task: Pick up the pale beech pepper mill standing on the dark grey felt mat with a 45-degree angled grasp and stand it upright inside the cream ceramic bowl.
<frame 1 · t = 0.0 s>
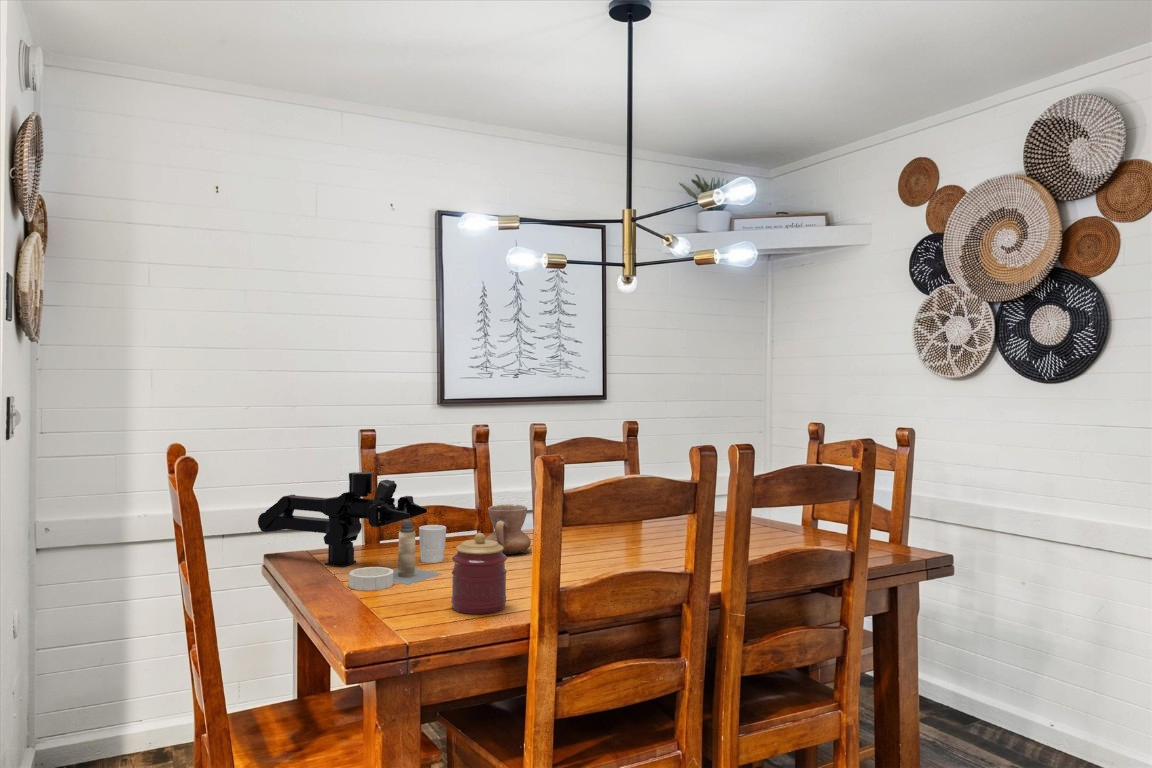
hand: (418, 513, 222), 17 cm above the table, tool horizontal, fingers open, 9 cm apart
bowl: (371, 585, 207), on the table
canister: (478, 608, 190), on the table
white cup: (432, 561, 236), on the table
felt mat: (406, 576, 218), on the table
ceramic jug: (506, 553, 250), on the table
pepper mill: (406, 575, 218), resting on felt mat
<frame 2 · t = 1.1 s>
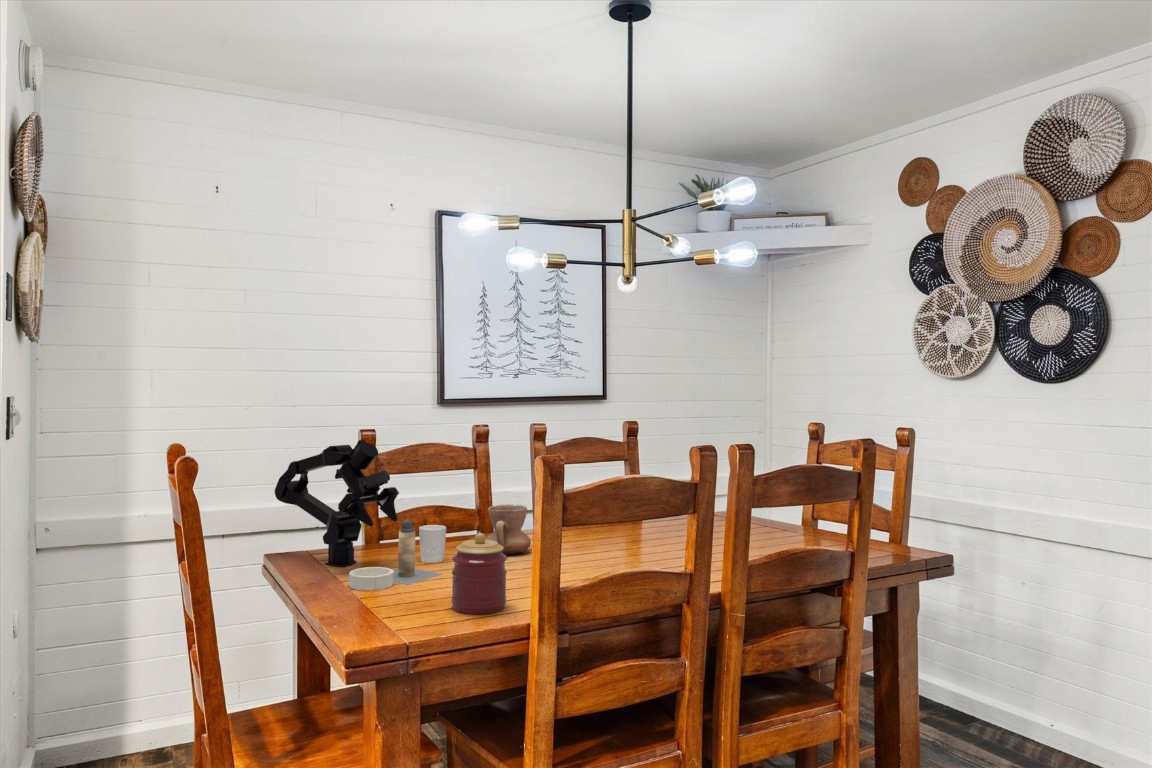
hand: (384, 523, 222), 14 cm above the table, tool tilted 45°, fingers open, 9 cm apart
nothing on the table moved.
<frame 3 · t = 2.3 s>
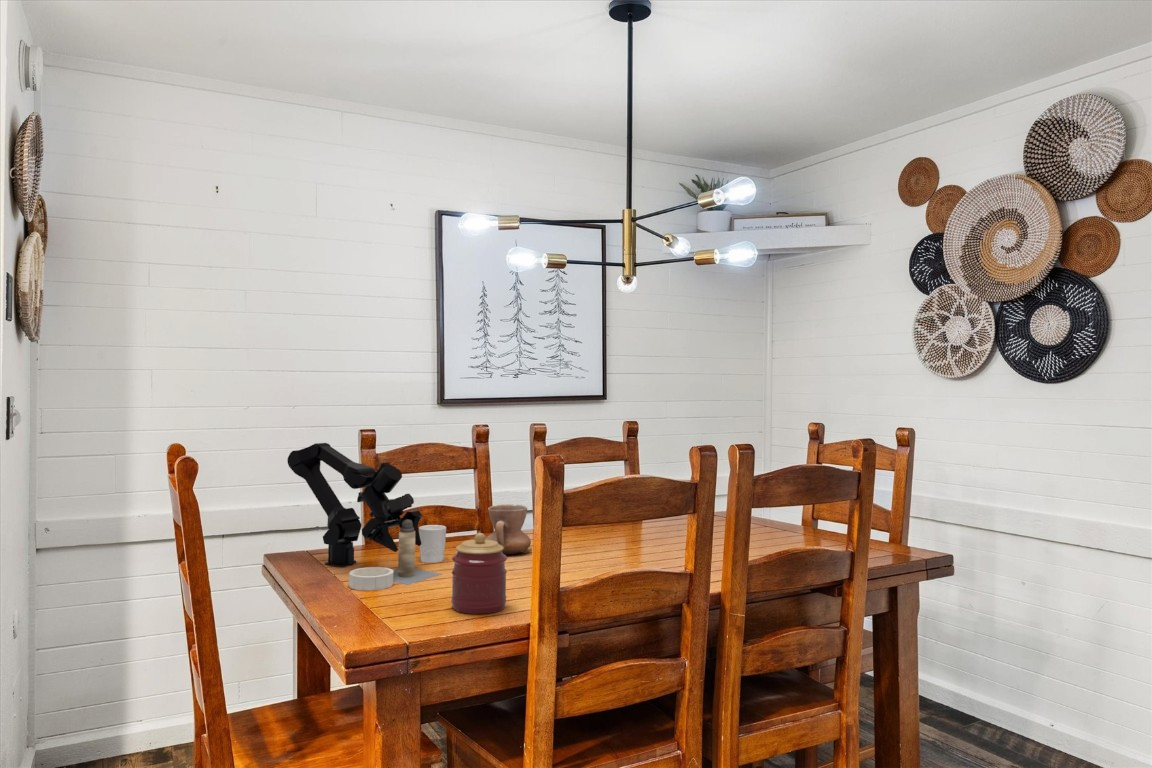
hand: (408, 548, 217), 8 cm above the table, tool tilted 45°, fingers open, 9 cm apart
nothing on the table moved.
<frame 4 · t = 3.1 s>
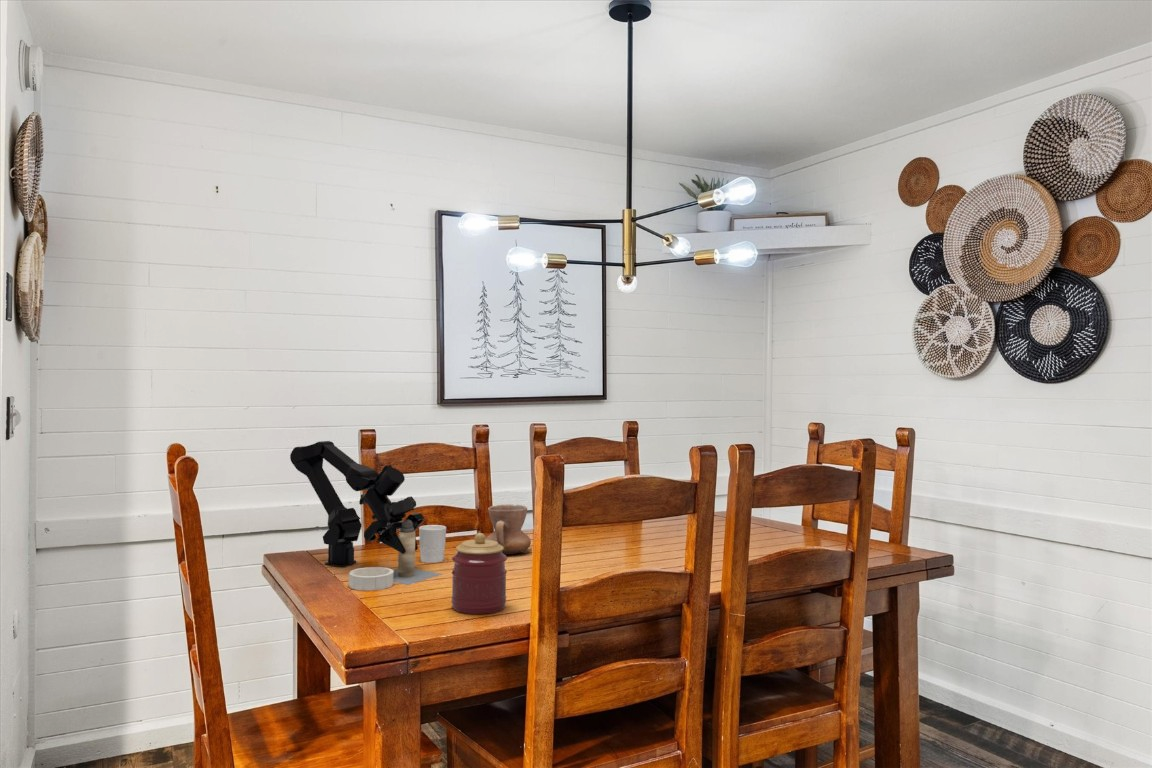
hand: (410, 551, 217), 7 cm above the table, tool tilted 45°, fingers closed on pepper mill, 4 cm apart
pepper mill: (406, 575, 218), resting on felt mat, touching gripper
everything else where it was.
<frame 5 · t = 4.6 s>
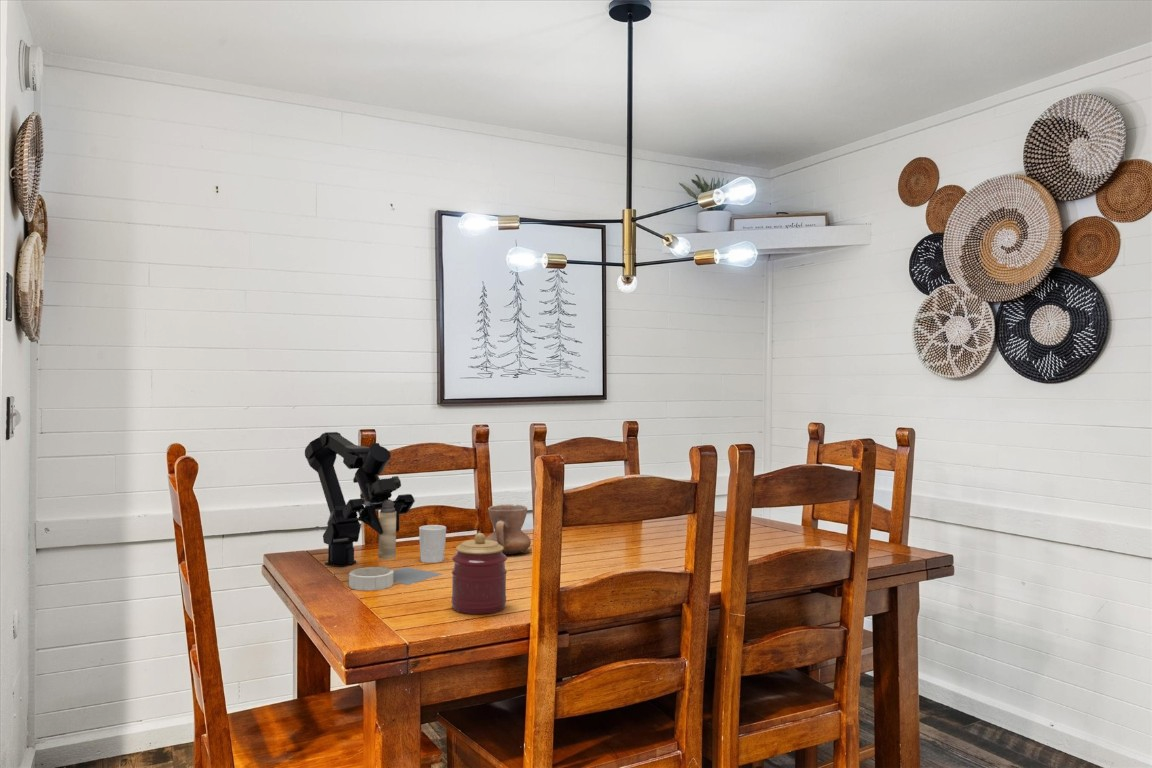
hand: (389, 532, 210), 14 cm above the table, tool tilted 45°, fingers closed on pepper mill, 4 cm apart
pepper mill: (386, 557, 211), point 7 cm above the table, touching gripper
everything else where it was.
when the fingers open (9 cm above the table, at t = 6.1 s): pepper mill drops 1 cm, resting on bowl.
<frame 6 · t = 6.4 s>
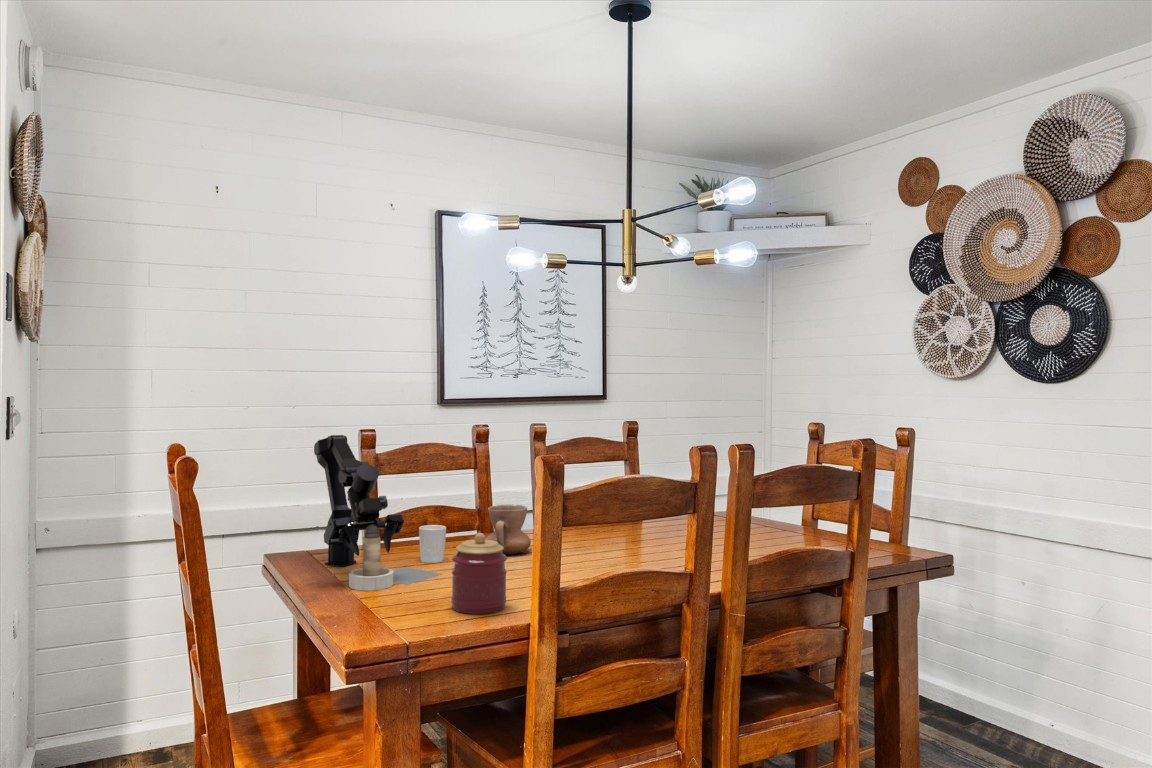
hand: (373, 553, 206), 9 cm above the table, tool tilted 45°, fingers open, 8 cm apart
pepper mill: (371, 583, 207), point 1 cm above the table, touching bowl
everything else where it was.
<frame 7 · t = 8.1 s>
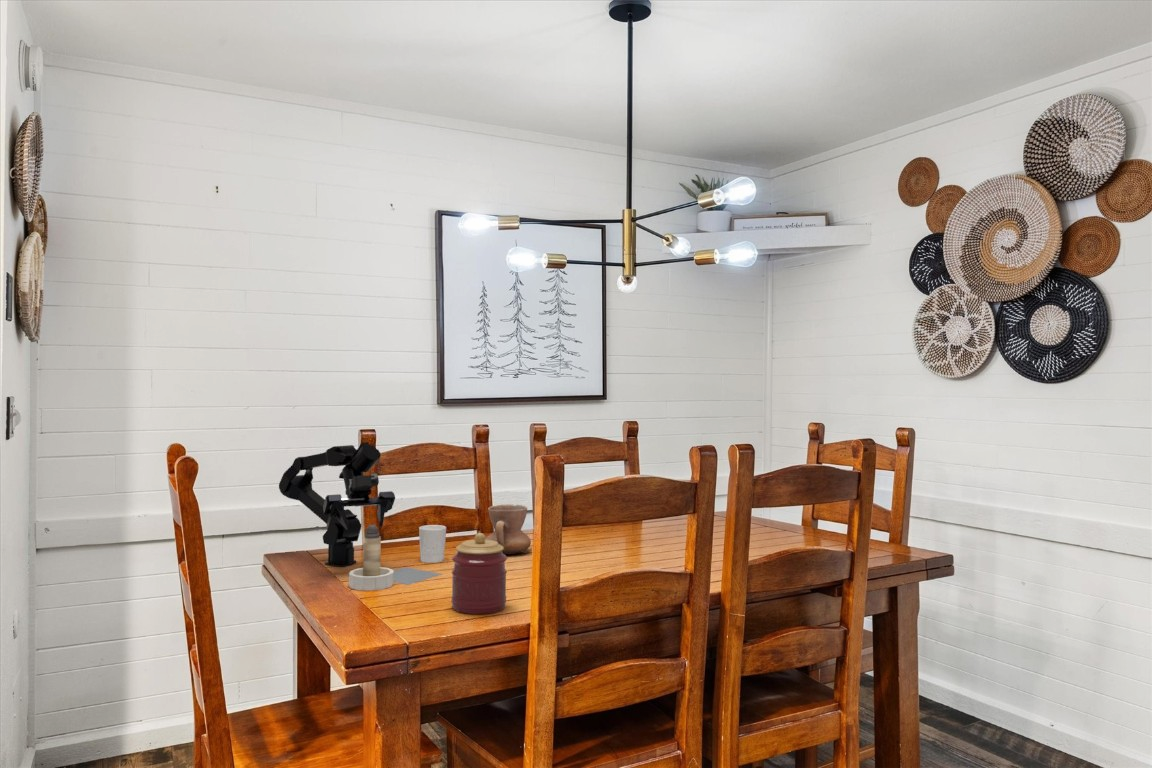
hand: (364, 527, 216), 13 cm above the table, tool tilted 45°, fingers open, 9 cm apart
nothing on the table moved.
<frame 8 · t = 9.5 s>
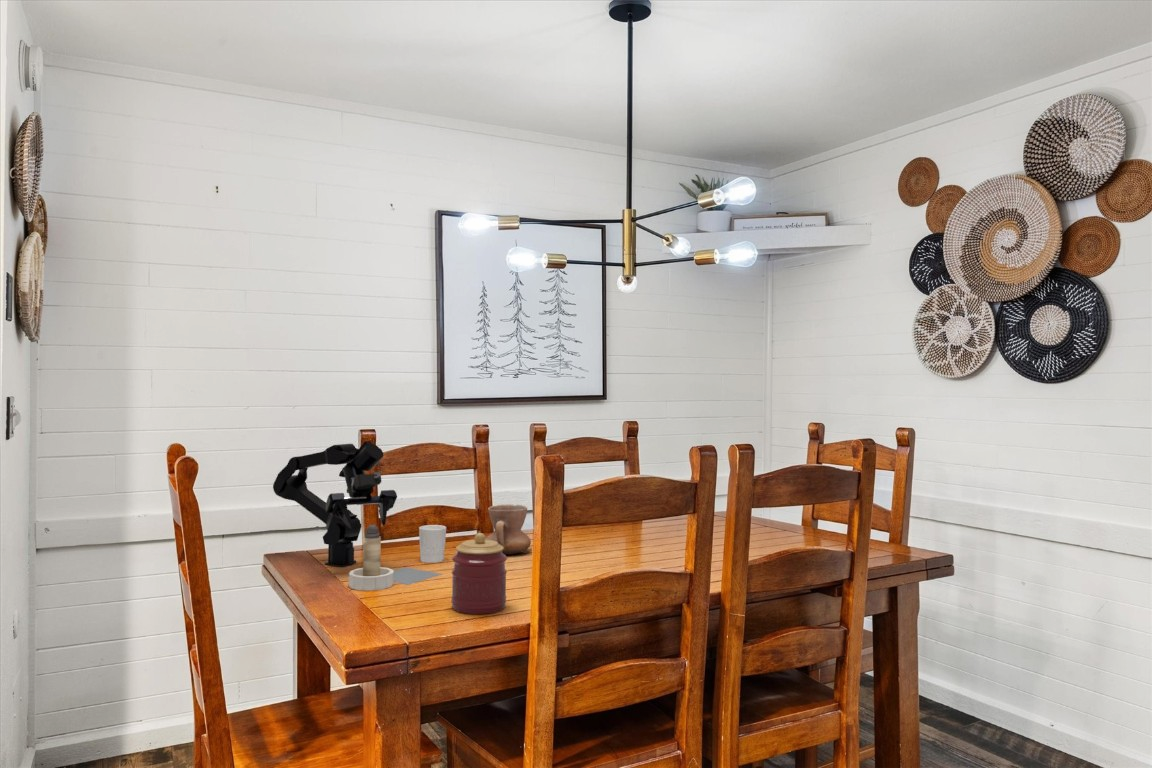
hand: (368, 526, 217), 14 cm above the table, tool tilted 45°, fingers open, 9 cm apart
nothing on the table moved.
at the end: pepper mill inside the target area on the bowl (0.1 cm from its centre), point 0.6 cm above the bowl's base; pepper mill tilted 0°; the gripper is holding nothing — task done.
